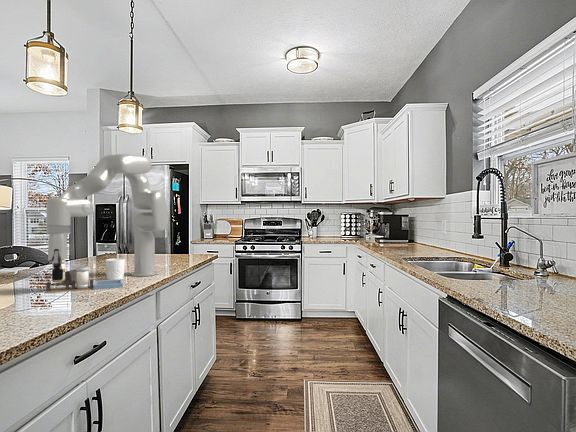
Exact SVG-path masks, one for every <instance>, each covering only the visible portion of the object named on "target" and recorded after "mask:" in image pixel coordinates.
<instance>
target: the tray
mask: <svg viewBox="0 0 576 432" xmlns="http://www.w3.org/2000/svg"><path fill="white" fill-rule="evenodd" d="M123 279H124V278H122V279H116V280H108V279H106V280H96V281H94V282H93V285H94V286H93V289H92V291H93V290H95V291H96V290H107V289H108V290H110V289H119V288H120V289H121V288H123V287H124V281H123Z"/></svg>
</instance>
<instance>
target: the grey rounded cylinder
mask: <svg viewBox="0 0 576 432" xmlns="http://www.w3.org/2000/svg"><path fill="white" fill-rule="evenodd" d="M75 270H76V271H77V284H75V286H76V289H86V288H89V285H90V280H89V279H90V278H89V275H90V274H89V273H90V266H77V267H76V269H75Z"/></svg>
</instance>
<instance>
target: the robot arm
mask: <svg viewBox="0 0 576 432" xmlns="http://www.w3.org/2000/svg"><path fill="white" fill-rule="evenodd" d="M151 169H152V161H151V160H150V158H149V157H147V156H146V155H139V154H138V155H137V154H127V153H126V154H125V153H121V154H120V153H117V154H107V155H105V156H103V157H102V158H101V159H100V160H99V161H98V162H97V164H96V165H95V166H94V167H93V168H92V170H90V172H89V173H88V175H86V176H85V177H83V178H82V179H80V180H79V181H77V182H75V183H74V184H72V185H71V186H70V187H68V188H67V189H66V190H64V192H63V193H62V194H60V197H49V198H48V199H46V235H48V243H47V245H48V247H47V248H48V249H47V262H52V260H53V270H52V271H51V273H52V277H51V281H52V280H62V279H63V269H62V261H63V260H64V259H65V260H66V259H67V255H68V235H71V234H72V233H71V218H74V217H75V218H78V217H79V218H84V217H88V216H90V215H91V214H92V213H93V210H94V205H93V202H92V201H90V200H89V199H87V197H89V196H92V195H94V194H98V193H100V192H103V191H105V190H106V189H107V188H108V186H109V184H110V183H111V182H112V180H113V179H114V178H115V177H116V176H117V175H118V174H122V175H123V176H125V177H126V179H127V180H128V182H129V185H130V190H131V196H132V204H133V206H134V208H135V209H137V210H140V211H141V210H142V211H141V212H138V213H136V214H134V215H133V217H132V222H131V224H132V227H133V232H134V233H133V235H134V237H133V238H134V244H133V245H134V247H133V248H134V254H133V257H134V260H133V266H134V267H133V271H131V273H130V276H131V277H152V276H156V275H158V274H159V271H157V270H155V265H156V264H155V262H156V261H155V257H156V255H155V253H156V249H155V248H156V241H155V240H156V239H155V236H154V233H153V232H162V231H163V232H164V231H165V230H166V229H167V227H168V224H169V217H168V209H167V201H166V197H165V195H164V193H162V192H161V191H160V190H154V189H153V190H151V188H150V182H149V178H148V177H147V175H146V174H148V173H149V172H150V171H151ZM143 210H144V211H143ZM146 210H147V211H146ZM148 210H149V211H148ZM58 259H61V261H58ZM58 262H60V263H58Z"/></svg>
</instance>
